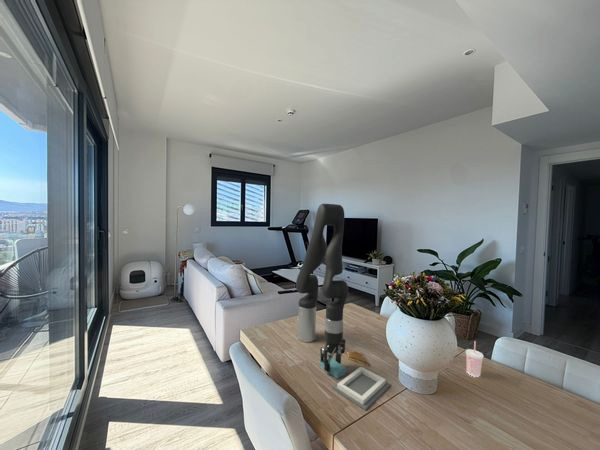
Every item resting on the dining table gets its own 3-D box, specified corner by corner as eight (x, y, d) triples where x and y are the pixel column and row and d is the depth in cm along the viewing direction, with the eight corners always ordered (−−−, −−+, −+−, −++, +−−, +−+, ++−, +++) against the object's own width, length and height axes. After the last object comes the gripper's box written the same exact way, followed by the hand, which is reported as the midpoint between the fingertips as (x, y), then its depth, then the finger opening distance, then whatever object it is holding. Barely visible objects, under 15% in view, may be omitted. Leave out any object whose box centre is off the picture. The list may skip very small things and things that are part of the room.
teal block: (319, 366, 106) (320, 359, 106) (328, 362, 109) (328, 356, 109) (336, 379, 98) (336, 372, 98) (345, 374, 101) (345, 367, 101)
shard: (370, 368, 106) (370, 364, 106) (353, 369, 105) (353, 365, 105) (360, 354, 117) (360, 350, 116) (344, 355, 115) (345, 351, 115)
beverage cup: (461, 369, 106) (462, 337, 106) (475, 369, 106) (477, 337, 106) (471, 378, 100) (473, 345, 99) (486, 379, 100) (488, 345, 99)
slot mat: (332, 388, 92) (332, 383, 92) (358, 368, 104) (359, 363, 104) (365, 410, 82) (365, 404, 82) (390, 385, 94) (390, 380, 94)
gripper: (337, 320, 110) (336, 357, 111) (315, 330, 100) (314, 370, 101) (351, 326, 105) (350, 364, 105) (330, 337, 95) (328, 379, 95)
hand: (332, 367), depth 103 cm, fingers open, 6 cm apart
